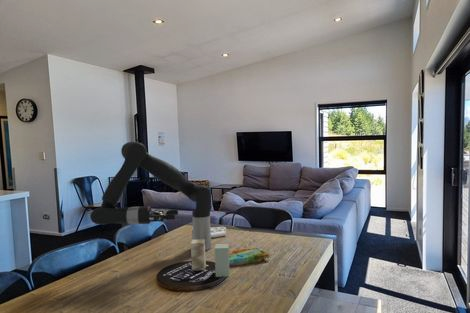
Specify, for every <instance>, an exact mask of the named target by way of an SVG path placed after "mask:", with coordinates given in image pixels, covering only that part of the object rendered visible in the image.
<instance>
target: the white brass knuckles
mask: <svg viewBox="0 0 470 313" xmlns="http://www.w3.org/2000/svg"><path fill="white" fill-rule="evenodd" d="M210 228H211V239H215V238H220V237H226V236H227V227H225V226H217V227H216V226H213V227H210Z"/></svg>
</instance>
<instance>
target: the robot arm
mask: <svg viewBox="0 0 470 313" xmlns="http://www.w3.org/2000/svg"><path fill="white" fill-rule="evenodd" d="M120 151H121V152H120V153H121V155H122V158H123V159H124V161H123V163H122V165H121V167H120V169H119V171H117V173H116V174H115V175H114V177H113V178H112V179H111V180H110V182H109V184H108V185H107V187H106V188H105V191H104V192H103V194H102V197H101V201H102V204H101V205H100V207H97V208H94V209H93V210H92V211H91V212H90V218H89V219H90V221H91V222H93V223H94V224H96V225H103V226H105V225H108V224H118V225H149V224H151V222H154V223H155V222H161V223H162V222H164V221H167V220H169V221H170V220H171V221H172V220H175V219H176V216H178V215H179V210H178V209H169V208H156V209H154V210H152V208H151V206H150V205H149V206H131V207H117V204H118V203H119V201H120V199H121V197H122V195H123V193H124V191H125V189H126V187H127V185H128V183H129V182H130V180H131V178H132V177H133V175H134V174H135V172H136V171H137V169H138V168H139V167H140V168H142V169H143V170H145V171H147V172H148V173H149V174H151V175H152V176H153V177H154V178H156V179H158V180H159V181H161V182H162V183H163V184H165V185H167V186H170V188H173V189H175V190H176V191H179V192H180V193H182V194H183V195H184V196H185V197H187V198H188V199H189V200H190V201H191V202H194V203H195V205H196V206H195V209H193V210H192V214H191V215H192V217H191V218H192V230H191V241H192V240H201V239H205V251H207V250H210V249H212V238H211V228H212V227H211V211H212V191H211V189H210V188H209V186H206V185H201V184H197V183H195V182H193V181H191V180H189V179H187V177H186V176H185V175H184V174H183V173H182V172H181V171H180V170H179V169H178V168H177V167H175V166H173V165H172V164H170V163H169V162H167V161H165V160H162V159H161V158H158V157H156V156H154V155H151V154H150V153H149V152H147V148H146V146H145V145H144V144H143V143H141V142H139V141H138V142H136V141H128V142H126V143H124V144H123V145H122V146H121V150H120Z"/></svg>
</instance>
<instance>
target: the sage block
mask: <svg viewBox="0 0 470 313" xmlns="http://www.w3.org/2000/svg"><path fill="white" fill-rule="evenodd" d="M229 251H230V250H229V243H218V244H217V243H216V244H214V265H215V268H214V269H215V278H216V277H217V278H222V276H223V277H225V278H226V277H230V266H229Z"/></svg>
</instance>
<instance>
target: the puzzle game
mask: <svg viewBox="0 0 470 313" xmlns="http://www.w3.org/2000/svg"><path fill="white" fill-rule="evenodd" d="M269 256H270V254H269V253H267V252H266V251H264V250H263V249H261V247H259V246H257V247H250V248H243V249H233V250H229V267H232V266H233V267H234V266H238V265H239V266H242V265H247V264H253V263H261V262H262V260H263V259H268V258H269Z"/></svg>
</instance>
